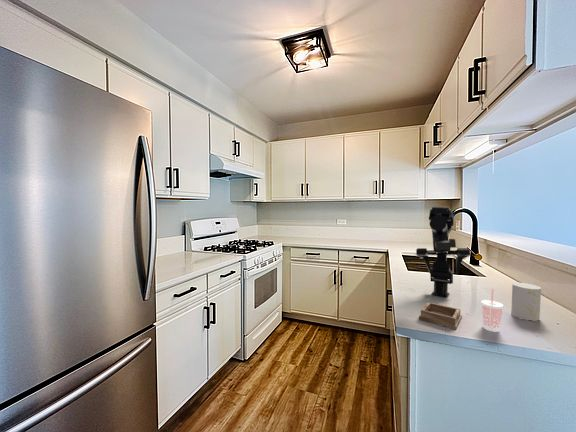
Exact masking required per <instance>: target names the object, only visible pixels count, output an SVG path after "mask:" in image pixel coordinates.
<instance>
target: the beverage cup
mask: <svg viewBox="0 0 576 432" xmlns="http://www.w3.org/2000/svg"><path fill="white" fill-rule="evenodd" d="M490 296H491V298H490V300H489V299H483V300H481V301H480V302H481V303H480V304H481V306H482V307H481V310H482V312H481V313H482V328H483V329H484V330H487V331H489V332H494V333H496V332H497V333H499V332H500V330H501V321H502V314H503V313H502V312H503V309H504V304H503V303H501V302H498V301H495V300H494V288H491V295H490Z"/></svg>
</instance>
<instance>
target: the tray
mask: <svg viewBox="0 0 576 432" xmlns="http://www.w3.org/2000/svg"><path fill="white" fill-rule="evenodd" d="M462 319H463V315H462V314H461V308H457V307H453V306H447V305H443V304H440V303H434V302H430V301H428V302H427V303H425V305H424V306H423V307H422V308H421V310H420V315H419V316H418V320H419V321H423V322H426V323H430V324H433V325H437V326H441V327H444V328H445V327H446V328H448V329H449V328H450V329H452V330H457V329H458V327H459V325H460V323H461V322H462Z"/></svg>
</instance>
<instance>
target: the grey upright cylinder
mask: <svg viewBox="0 0 576 432" xmlns="http://www.w3.org/2000/svg"><path fill="white" fill-rule="evenodd" d="M511 288H512V289H511V310H510V313H511V316H513V317H515V316H516V317H515V318H517V317H518V318H517V319H520V318H521V319H520V320H523V319H525V320H524V321H528V320H532V321H531V322H538V321H537V320H539V319H541V300H542V299H541V298H542V287H540V286H539V285H535V284H531V283H527V282H512V287H511ZM539 321H540V320H539Z"/></svg>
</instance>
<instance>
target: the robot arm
mask: <svg viewBox="0 0 576 432" xmlns="http://www.w3.org/2000/svg"><path fill="white" fill-rule="evenodd" d="M428 220H429V226H430V229H431V234H432V235H431V237H432V248H433V249H432V250H431V249H430V250H429V249H427V248H426V247H425V248H423V247H422V248H420V247H418V248H416V250H415V253H416V257H419V259H421V260H422V261H424V263H425V266H426V267H427V270H428V272H429V275H430V282H433V291H432V292H431V295H433V296H438V297H443V298H448V297H449V296H450V292H449V291H448V289H449V285H452V284H453V283H454V274H453V273H452V270H451V268H450V265H449V263H448V261H447V258H448V256H456V258H455V275H457V276H458V274H459V273H460V268H461V264H462V262H463V261H464V260H465V259H467V258H469V257H470V256H471V249H469V248H468V247H464V248H463V247H461V248H459V247H457V245H456V239H455V238H450V237H449V234H450V232H451V231H452V230H453V227H454V224H455V221H454V220H455V215H454V213H453V211H452V209H450V207H449V206H432V207H431V209H429V215H428ZM456 247H457V248H456ZM453 248H456V250H455V249H453ZM452 249H453V250H452ZM430 255H431V256H436V260H435V261H433V263H432V268H431V264H430V259H429V256H430Z"/></svg>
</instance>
